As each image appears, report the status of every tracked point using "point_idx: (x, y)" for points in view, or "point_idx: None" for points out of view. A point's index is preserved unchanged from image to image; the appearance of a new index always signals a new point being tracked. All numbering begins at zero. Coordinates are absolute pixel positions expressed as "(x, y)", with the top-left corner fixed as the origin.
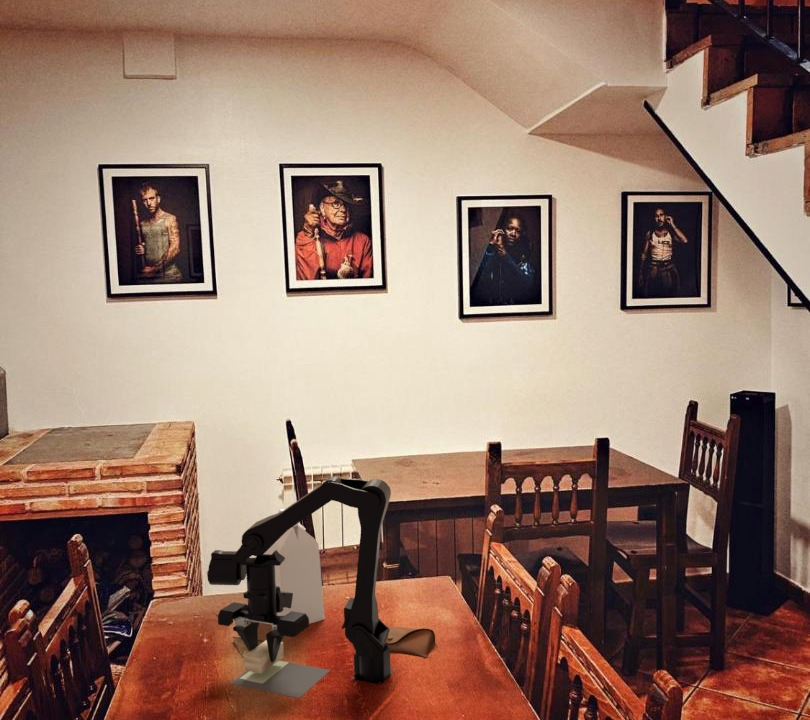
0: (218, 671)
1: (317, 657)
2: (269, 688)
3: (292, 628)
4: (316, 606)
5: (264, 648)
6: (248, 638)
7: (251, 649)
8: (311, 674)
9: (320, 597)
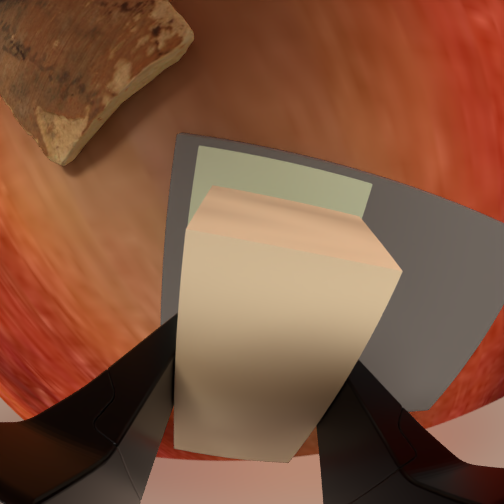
0: (47, 286)
1: (476, 75)
2: None
3: None
4: None
5: (256, 390)
6: (142, 492)
7: (169, 412)
8: (480, 286)
9: None
